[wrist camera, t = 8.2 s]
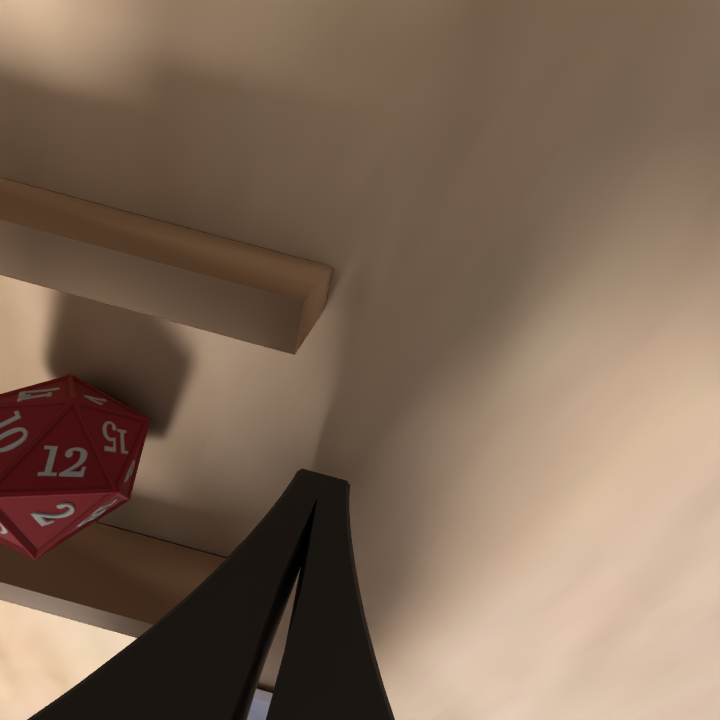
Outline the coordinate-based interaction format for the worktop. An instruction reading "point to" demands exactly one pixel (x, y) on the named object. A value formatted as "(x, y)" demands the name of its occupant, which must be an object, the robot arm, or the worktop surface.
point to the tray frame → (159, 299)
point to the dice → (63, 461)
